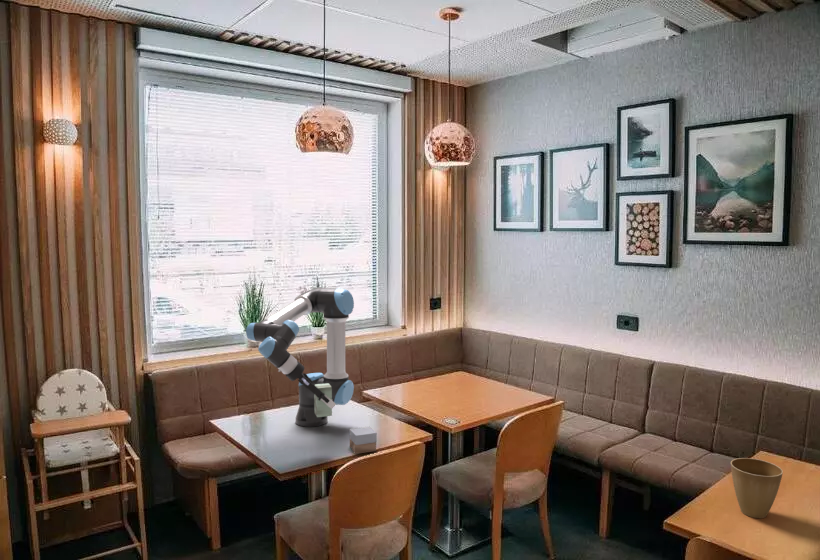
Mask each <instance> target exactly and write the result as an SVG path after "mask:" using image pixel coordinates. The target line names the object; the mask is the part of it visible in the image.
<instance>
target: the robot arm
mask: <svg viewBox="0 0 820 560" xmlns="http://www.w3.org/2000/svg"><path fill="white" fill-rule="evenodd" d="M354 306H355V302H354V297H353V295H352V293H351V292H350V291H349V289H345V288H338V287H335V288H334V287H333V288H332V287H315V288H312V289H309V290H307V291H305V292H303V293H301V294H299V295H297V296H296V297H295V298H294V300H293V301H292V302H291V303H289V304H287V305H286V306H284V307H282V308H281V309H279V310H278V311H276V312H274V313H273V314H272V315H270V316H268V317H267V318H265V319H264V320H262V321H260V322H251V323H249V324H248V325H247V326H246V329H245V334H246V337H247V339H248V340H250V341H253V342H260V344H259V345H258V348H257V350H258V352H259V353H260V354H261V356H263V357H264V359H266V360H267V361H268V362H270V363H271V364H272V365H273V366H274V367H275V368H277V369H278V371H277V372H278V373H282V374H283V375H285V377H286V378H288V380H289V381H291V382H295V381H296V380H298V409H297V412H296V416H295V424H296V425H298V426H300V427H308V428H309V427H319V426H323V425H326V424H327V423H328V418H329V416H325V417H317V416H316V414H315V406H314V394H315V395H316V396H317V397H318V398H319V399H318V400H319V401H320V399H321V400H322V401H323V402H324V403H325V404H326V405H327V406H328V407H330V408H331V409H332V410H333V408H335V406H339V405H340V406H344V405H347V404H348V403H349V402H350V401H351V399H352V397H353V395H354V391H355V390H354V389H355V387H354V386H355V385H354V383H353V381H352V380H351V379H350V378H349V376H350V375H349V374H348V373H347V371H346V321H347V320H348V319H349V317H350V316H349V315H351V314H352V313H353V310H354V308H355V307H354ZM312 313H322V315H323V319H324V320H325V321H326V372H325V373H322V372H313V373H312V372H311V373H305V366H304V365H303V364H302V363H301V362H300V361H298V360H297V358H295V357H294V355H292V354H291V353H290V352H289V351H288V349H289V347H290V346H291V344H292V343H293V341H294V340H295V339H296V337H297V336H298V333H300V332H299V331H300V327H299V325H298V323H296V322H295V321H297V320H298V319H299V318H301V317H303V316H308V315H309V314H312ZM327 383H329V384H330V385H331V387H332V400H331V399H330V398H329V397H328V396H327V395H325V394H324V393H323V392H321V391H320V390H319V389H318V388H317V387H316V386H315V384H327Z"/></svg>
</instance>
